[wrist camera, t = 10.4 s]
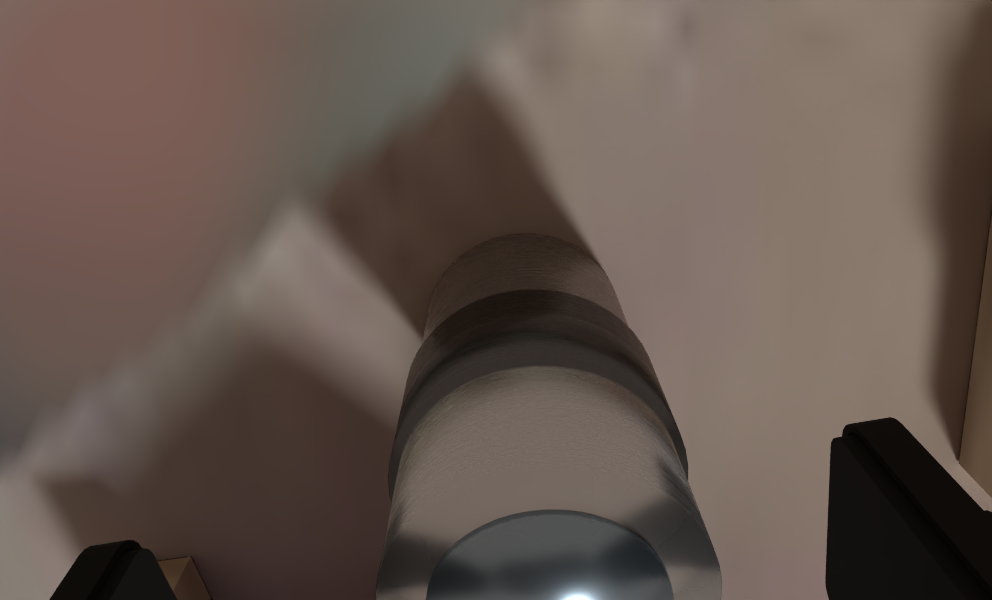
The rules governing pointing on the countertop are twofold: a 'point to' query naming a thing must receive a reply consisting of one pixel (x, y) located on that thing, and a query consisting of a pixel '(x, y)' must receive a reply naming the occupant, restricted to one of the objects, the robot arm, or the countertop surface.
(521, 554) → the lens
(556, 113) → the countertop surface
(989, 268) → the mount
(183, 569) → the rail
